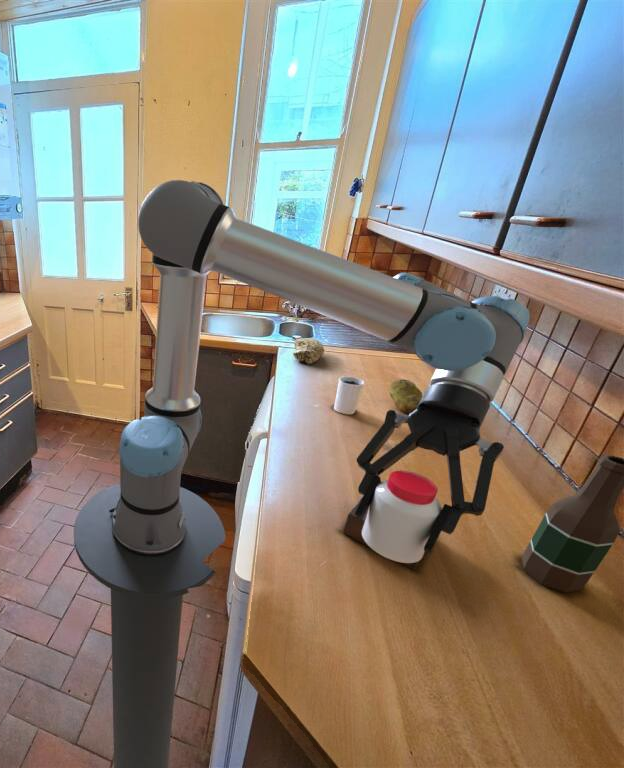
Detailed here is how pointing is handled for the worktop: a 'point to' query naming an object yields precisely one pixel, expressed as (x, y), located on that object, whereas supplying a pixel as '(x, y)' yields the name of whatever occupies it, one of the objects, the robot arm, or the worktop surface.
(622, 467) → the beer bottle
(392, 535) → the pill bottle
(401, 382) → the avocado
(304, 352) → the tan rock
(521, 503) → the worktop surface
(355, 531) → the walnut block
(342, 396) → the white cup
